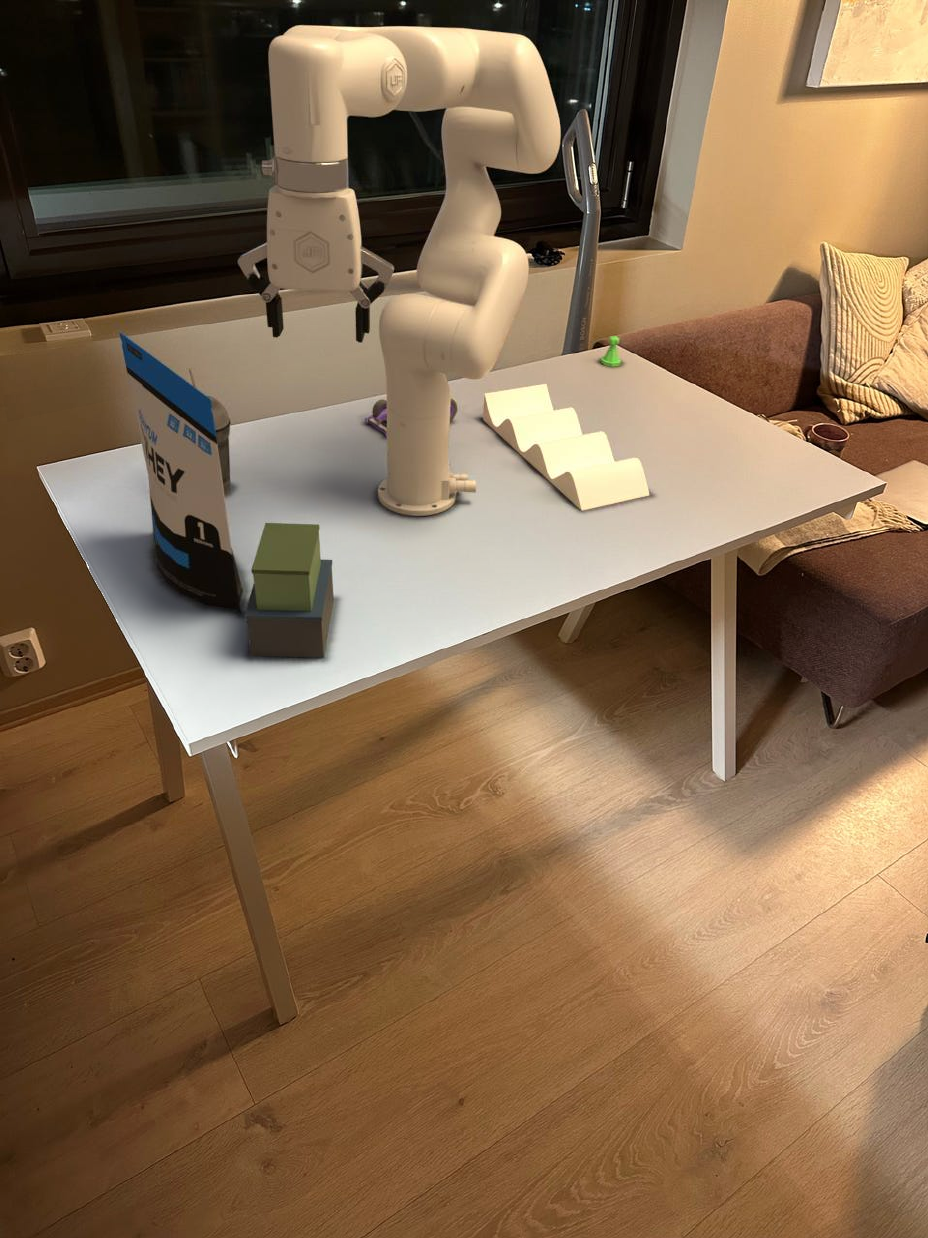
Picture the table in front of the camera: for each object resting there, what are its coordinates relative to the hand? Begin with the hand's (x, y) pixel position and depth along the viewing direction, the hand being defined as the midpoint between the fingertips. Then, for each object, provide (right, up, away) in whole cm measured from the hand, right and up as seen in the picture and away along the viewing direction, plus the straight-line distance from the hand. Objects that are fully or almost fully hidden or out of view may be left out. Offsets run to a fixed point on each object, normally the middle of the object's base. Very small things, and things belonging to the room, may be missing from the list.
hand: (319, 335), depth 103 cm
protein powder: (-20, -27, +19) cm, 39 cm away
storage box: (-5, -34, +11) cm, 36 cm away
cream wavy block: (+34, -5, +51) cm, 62 cm away
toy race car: (+7, +3, +59) cm, 60 cm away
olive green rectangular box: (-5, -29, +7) cm, 30 cm away
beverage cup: (-23, -13, +37) cm, 45 cm away
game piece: (+48, +22, +86) cm, 101 cm away
